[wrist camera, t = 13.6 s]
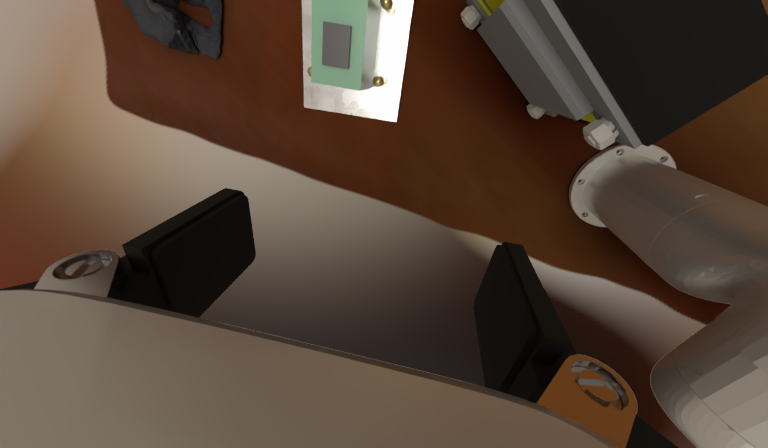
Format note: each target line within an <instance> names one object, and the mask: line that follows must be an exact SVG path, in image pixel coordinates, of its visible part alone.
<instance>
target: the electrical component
mask: <svg viewBox="0 0 768 448" xmlns="http://www.w3.org/2000/svg"><path fill="white" fill-rule="evenodd" d="M466 3H467V5H468V6H469V7H468V6H467V7H466V8H465V9H464V10H463V12H462V13H461V18H462V22H463V24H464V25H465V26H466V27H467V28H469V29H470V30H473V29H474V28H475V27H476V26H477V25H478V24H479V22H480V23H481V24H482V25H481V26H480V27H479V28H478V29H477V31H478V32H479V34H480V35H481V37H482V38H483V39H484V41H485V42H486V44H487V45H488V46H489V48H490V49H491V51H492V52H493V53H494V55H495V56H496V57H497V59H498V60H499V62H500V63H501V64H502V66H503V67H504V69H505V70H506V71H507V73H508V74H509V76H510V77H511V78H512V80H513V81H514V82H515V84H516V85H517V87H518V88H519V89H520V91H521V92H522V94H523V95H524V96H525V98H526V99H527V100H528V102H529V103H530V104H529V105H527V111H528V113H529V114H530V115H531V117H533V118H535V119H538V118H539V117H541V116H542V115H543V114H544V113H545V114H547V115H550V116H552V117H555V116H556V115H561V116H564V117H567V118H570V119H572V120H575V121H578V122H581V123H583V124H586V125H587V126H585V127H584V128H583V134H584V138H585V140H586V141H587V142H588V143H589V144H590V145H591V146H593V147H594V148H596V149H599V150H603V149H604V148H606V147H607V146H609V145H611V144H612V143H614V142H615V141H616V142H618V143H621V144H623V145H626V146H628V147H631V148H633V149H636V148H637V147H639V146H641V145H645V146H648V147H649V146H650V145H652V144H653V143H655V142H657V141H658V140H660V139H662V138H663V137H665V136H667V135H668V134H670V133H672V132H673V131H675V130H677V129H678V128H680V127H682V126H683V125H685V124H687V123H688V122H690V121H692V120H693V119H695V118H697V117H698V116H700V115H702V114H703V113H705V112H706V111H708V110H710V109H711V108H713V107H715V106H716V105H718V104H720V103H721V102H723V101H725V100H726V99H728V98H730V97H731V96H733V95H735V94H736V93H738V92H740V91H741V90H743V89H745V88H746V87H748V86H750V85H751V84H753V83H755V82H756V81H758V80H760V79H761V78H763V77H764V76H766V75H768V16H767V13H766V11H765V9H764V6H763V4H762V1H761V0H466Z"/></svg>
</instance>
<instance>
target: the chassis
mask: <svg viewBox="0 0 768 448" xmlns="http://www.w3.org/2000/svg"><path fill="white" fill-rule="evenodd" d="M380 4H381V14H380V23H379V33H378V42H377V51H376V60H375V69H374V79H373V88H369V89H365V90H361V91H359V90H353V89H347V88H341V87H336V86H330V85H324V84H318V83H313V82H311V33H312V0H302V31H303V77H304V107H305V108H311V109H318V110H324V111H330V112H336V113H343V114H349V115H355V116H361V117H367V118H374V119H380V120H386V121H392V122H397V120H398V113H399V105H400V98H401V91H402V84H403V77H404V70H405V63H406V56H407V49H408V41H409V34H410V27H411V20H412V13H413V6H414V0H380Z"/></svg>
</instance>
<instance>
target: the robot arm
mask: <svg viewBox="0 0 768 448" xmlns="http://www.w3.org/2000/svg"><path fill="white" fill-rule="evenodd" d="M617 150H618V151H617ZM579 180H580V181H579ZM569 203H570V205H571V208H572V210H573V211H574V212H575V213H576V215H577V216H578V217H579V218H580V219H582V220H583V221H585V222H586V223H589V224H591V225H594V226H599V227H607V228H608V229H609V230H611V231H612V232H613V233H614V234H615V235H616V236H617V237H618V238H619V239H620V240H621V241H622V242H623V243H625V244H626V245H627V246H628V247H629V248H630V249H631V250H632V251H633V252H634V253H635V254H636V255H638V256H639V257H640V258H641V259H642V260H643V261H644V262H645V263H646V264H647V265H648V266H649V267H651V268H652V269H653V270H654V271H655V272H656V273H657V274H658V275H659V276H661V277H662V278H663V279H664V280H665V281H666V282H668V283H669V284H670V285H672V286H673V287H675V288H677V289H678V290H680V291H682V292H685V293H687V294H689V295H692V296H695V297H698V298H702V299H706V300H710V301H715V302H721V303H727V304H732V305H731V306H730V307H728V308H727V309H726V310H725V311H723V312H722V313H721V314H719V315H718V316H717V317H716V318H715V320H714V321H712V322H711V323H709V324H708V325H707V326H705V327H704V328H702V329H701V330H700V331H698V332H697V333H695V334H694V335H693V336H691V337H690V338H688V339H687V340H686V341H684V342H683V343H681V344H680V345H679V346H677V347H676V348H675V349H673V350H672V351H670V352H669V353H667V354H666V355H665V356H664V357H663V358H661V359H660V360H659V361H658V362H657V363H656V364H655V366H654V368H653V369H652V372H651V376H650V382H651V387H652V390H653V392H654V395H655V397H656V399H657V401H658V402H659V404H660V405H661V407H662V408H663V410H664V411H665V412H666V414H667V415H668V416H669V417H670V419H671V420H672V421H673V423H674V424H675V425H676V426H677V427H678V428H679V429H680V431H681V432H682V433H683V434H684V435H685V436H686V437H687V438H688V439H689V440H690V441H691V442H692V443H693V444H694V445H695V446H696V447H697V448H768V207H767V206H765V205H762V204H760V203H758V202H755V201H753V200H750V199H748V198H745V197H743V196H741V195H738V194H736V193H733V192H731V191H728V190H726V189H724V188H721V187H719V186H716V185H714V184H711V183H709V182H706V181H704V180H702V179H699V178H697V177H694V176H692V175H689V174H687V173H685V172H682V171H680V170H677V168H676V164H675V161H674V160H673V158H672V156H671V155H670V154H669V153H667V152H666V151H665V150H663V149H662V148H660V147H658V146H655V145H650V146H649V147H648V146H645V145H641V146H639V147H637V148H636V149H633V148H631V147H628V146H626V145H623V144H618V145H615V146H612V147H609V148H607V149H605V150H603V151H601V152H599V153H597V154H596V155H594V156H593V157H591V158H590V159H589V160H588V161H587V162H586V163H584V164H583V165H582V166H581V168H580V169H579V170H578V171H577V173H576V174H575V176H574V178H573V180H572V182H571V185H570V188H569ZM122 246H123V249H124V251H125V253H126V255H125V256H124V257H122V258H120V257H119V255H118V254H117V253H116V252H114V251H111V250H90V251H86V252H81V253H77V254H74V255H71V256H68V257H66V258H64V259H61V260H59V261H57V262H56V263H54V264H53V265H51V266H50V267H49V268H48V269H47V270H46V271H45V272H44V274H43V275H42V277H41V278H40V280H39V281H37V282H32V283H27V284H23V285H18V286H13V287H9V288H4V289H0V448H678V447H677V446H675V445H674V444H673V443H672V442H670V441H669V440H668V439H666V438H665V437H664V436H662V435H661V434H660V433H659V432H657V431H656V430H655V429H654V428H652V427H651V426H650V425H649V424H647V423H646V422H645V421H644V420H642V419H641V418H640V417H639V416H637V415H636V413H637V401H636V399H635V396H634V393H633V392H632V390H631V389H630V387H629V386H628V384H627V383H626V382H625V381H624V380H623V379H622V378H621V377H620V376H619V375H618V374H617V373H616V372H615V371H613V370H612V369H611V368H610V367H608V366H607V365H605V364H603V363H602V362H600V361H598V360H596V359H594V358H591V357H589V356H584V355H578V354H576V352H575V350H574V348H573V346H572V344H571V341H570V340H569V337H568V335H567V333H566V331H565V329H564V327H563V325H562V323H561V321H560V319H559V317H558V315H557V313H556V311H555V309H554V307H553V305H552V303H551V301H550V299H549V297H548V295H547V293H546V291H545V289H544V288H543V286H542V284H541V282H540V280H539V278H538V277H537V274H536V272H535V270H534V268H533V266H532V264H531V262H530V260H529V258H528V256H527V254H526V252H525V249H524V247H523V246H522V245H519V244H513V243H508V242H504V243H503V244H502V245H497V246H496V248H495V250H494V253H493V256H492V258H491V260H490V263H489V265H488V268H487V270H486V273H485V275H484V278H483V280H482V283H481V285H480V288H479V290H478V293H477V295H476V298H475V301H474V316H475V322H476V329H477V336H478V342H479V348H480V356H481V362H482V369H483V375H484V382H485V387H482V386H478V385H474V384H470V383H467V382H463V381H459V380H455V379H451V378H447V377H444V376H440V375H436V374H432V373H428V372H424V371H420V370H416V369H412V368H407V367H403V366H399V365H395V364H391V363H387V362H383V361H379V360H374V359H371V358H367V357H362V356H358V355H354V354H350V353H346V352H342V351H337V350H333V349H329V348H325V347H321V346H317V345H312V344H308V343H304V342H300V341H296V340H292V339H287V338H283V337H279V336H275V335H270V334H266V333H262V332H258V331H254V330H249V329H245V328H241V327H237V326H232V325H228V324H224V323H219V322H215V321H211V320H206V319H202V318H199V317H200V316H201V315H202V314H203V313H204V312H205V311H206V310H207V309H208V308H209V307H210V306H211V304H212V303H213V302H214V301H215V300H216V299H217V298H218V297H219V296H220V295H221V294H222V293H223V292H224V291H225V290H226V289H227V288H228V287H229V286H230V285H231V284H232V283H233V282H234V281H235V279H237V278H238V277H239V275H241V273H242V272H243V271H244V270H245V269H246V268H247V267H248V266H249V265H250V264H251V263H252V262H253V261H254V259H255V255H256V254H255V245H254V239H253V231H252V224H251V216H250V209H249V202H248V198H247V197H246V196H245V195H244V193H243V192H241V191H238V190H232V189H227V188H226V189H223V190H221V191H219V192H217V193H216V194H214V195H212V196H210V197H208V198H206V199H205V200H203V201H201V202H199V203H197V204H196V205H194V206H192V207H190V208H188V209H187V210H185V211H183V212H181V213H179V214H177V215H176V216H174V217H172V218H170V219H168V220H167V221H165V222H163V223H161V224H159V225H158V226H156V227H154V228H152V229H151V230H148V231H147V232H145V233H143V234H141V235H140V236H138V237H136V238H134V239H132V240H130V241H129V242H127V243H125V244H123V245H122Z"/></svg>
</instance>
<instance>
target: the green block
mask: <svg viewBox="0 0 768 448" xmlns="http://www.w3.org/2000/svg"><path fill="white" fill-rule="evenodd" d="M380 14H381V4H380V0H312V33H311V82H313V83H318V84H324V85H330V86H336V87H341V88H347V89H353V90H359V91H361V90H365V89H369V88H373V79H374V69H375V60H376V51H377V42H378V33H379V23H380Z"/></svg>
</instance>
